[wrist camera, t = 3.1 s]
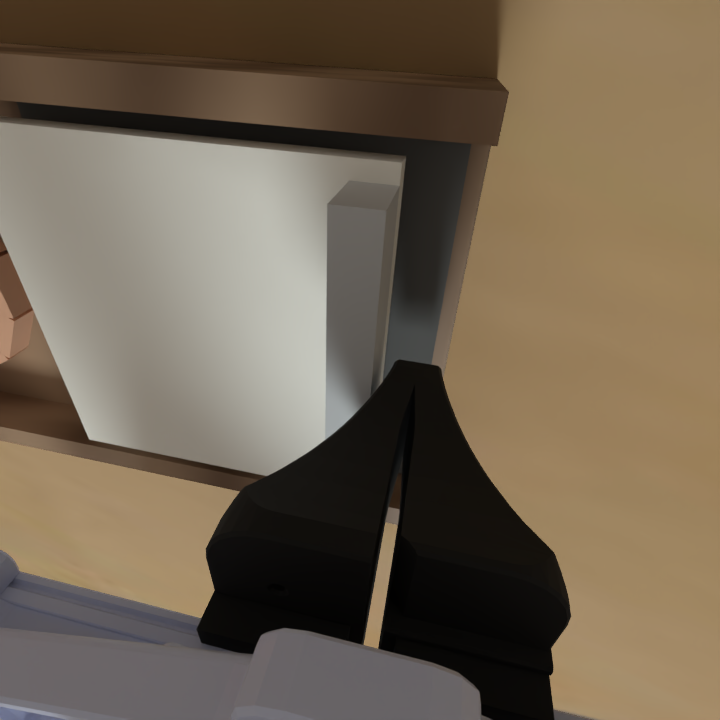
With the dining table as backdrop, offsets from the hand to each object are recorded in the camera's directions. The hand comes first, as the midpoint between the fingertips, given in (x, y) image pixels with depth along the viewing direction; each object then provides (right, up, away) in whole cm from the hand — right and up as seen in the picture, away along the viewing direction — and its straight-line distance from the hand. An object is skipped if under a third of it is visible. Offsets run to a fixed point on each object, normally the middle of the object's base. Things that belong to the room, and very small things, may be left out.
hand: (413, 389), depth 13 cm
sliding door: (-7, +2, +2) cm, 7 cm away
